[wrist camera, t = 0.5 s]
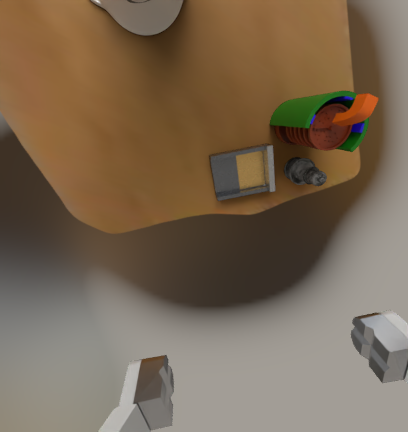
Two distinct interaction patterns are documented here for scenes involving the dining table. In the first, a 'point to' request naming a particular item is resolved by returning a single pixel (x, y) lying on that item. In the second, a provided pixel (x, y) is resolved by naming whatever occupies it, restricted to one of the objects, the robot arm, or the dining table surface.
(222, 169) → the grey open frame
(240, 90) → the dining table surface
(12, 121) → the dining table surface
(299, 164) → the grey tall turned piece
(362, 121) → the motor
